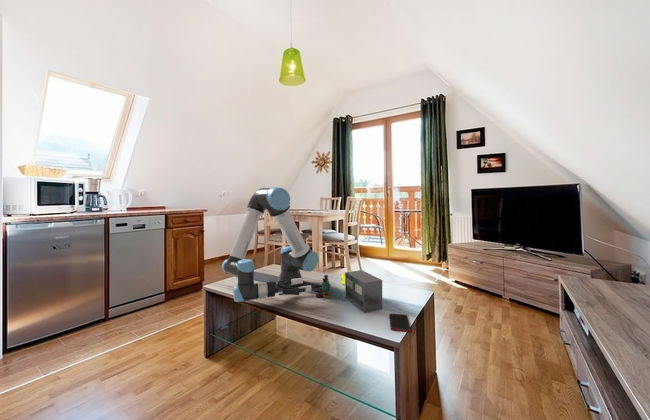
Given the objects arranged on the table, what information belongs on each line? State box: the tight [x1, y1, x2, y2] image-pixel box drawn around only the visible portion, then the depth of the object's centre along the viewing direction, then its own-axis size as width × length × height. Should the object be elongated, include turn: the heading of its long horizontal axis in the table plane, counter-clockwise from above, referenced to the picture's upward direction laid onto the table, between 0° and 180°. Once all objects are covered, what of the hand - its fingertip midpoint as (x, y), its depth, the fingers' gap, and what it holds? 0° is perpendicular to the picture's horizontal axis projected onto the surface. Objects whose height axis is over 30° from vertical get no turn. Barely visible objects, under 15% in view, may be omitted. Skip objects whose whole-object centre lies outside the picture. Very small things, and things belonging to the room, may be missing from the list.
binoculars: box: [312, 274, 331, 299], centre depth 142 cm, size 9×11×10 cm
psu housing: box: [344, 269, 383, 314], centre depth 130 cm, size 19×10×14 cm, turn 23°
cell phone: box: [389, 313, 412, 333], centre depth 110 cm, size 8×15×1 cm, turn 168°
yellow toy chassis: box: [340, 270, 351, 286], centre depth 155 cm, size 16×6×8 cm, turn 28°
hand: (306, 284), depth 138 cm, fingers open, 13 cm apart
